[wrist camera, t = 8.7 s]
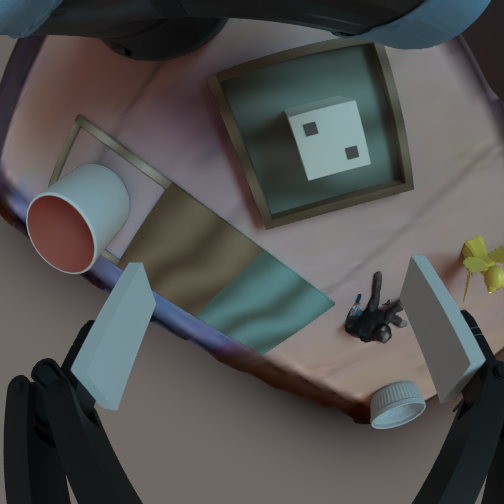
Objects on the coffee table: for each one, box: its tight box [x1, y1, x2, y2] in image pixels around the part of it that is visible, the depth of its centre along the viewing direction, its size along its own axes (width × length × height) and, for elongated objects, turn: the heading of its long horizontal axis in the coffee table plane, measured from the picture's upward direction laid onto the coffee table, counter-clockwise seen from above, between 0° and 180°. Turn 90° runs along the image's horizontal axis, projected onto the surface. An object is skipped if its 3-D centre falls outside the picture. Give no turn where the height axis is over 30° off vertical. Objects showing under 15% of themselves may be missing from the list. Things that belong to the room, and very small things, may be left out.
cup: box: [26, 164, 130, 274], centre depth 30 cm, size 10×10×10 cm
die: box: [284, 96, 371, 181], centre depth 26 cm, size 6×6×6 cm
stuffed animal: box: [345, 272, 407, 344], centre depth 43 cm, size 12×10×12 cm
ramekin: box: [370, 381, 426, 429], centre depth 55 cm, size 13×13×7 cm
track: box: [48, 114, 335, 355], centre depth 39 cm, size 43×16×1 cm, turn 50°
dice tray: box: [205, 38, 414, 230], centre depth 28 cm, size 18×18×2 cm
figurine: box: [462, 236, 504, 303], centre depth 33 cm, size 12×12×9 cm
